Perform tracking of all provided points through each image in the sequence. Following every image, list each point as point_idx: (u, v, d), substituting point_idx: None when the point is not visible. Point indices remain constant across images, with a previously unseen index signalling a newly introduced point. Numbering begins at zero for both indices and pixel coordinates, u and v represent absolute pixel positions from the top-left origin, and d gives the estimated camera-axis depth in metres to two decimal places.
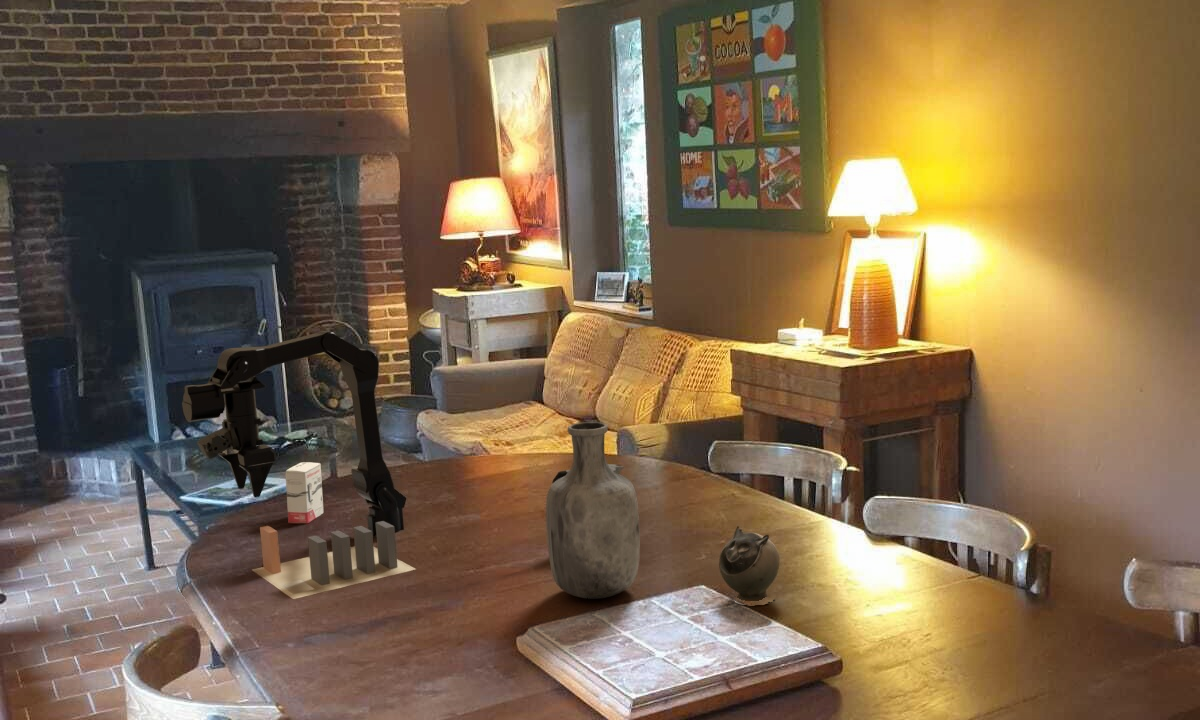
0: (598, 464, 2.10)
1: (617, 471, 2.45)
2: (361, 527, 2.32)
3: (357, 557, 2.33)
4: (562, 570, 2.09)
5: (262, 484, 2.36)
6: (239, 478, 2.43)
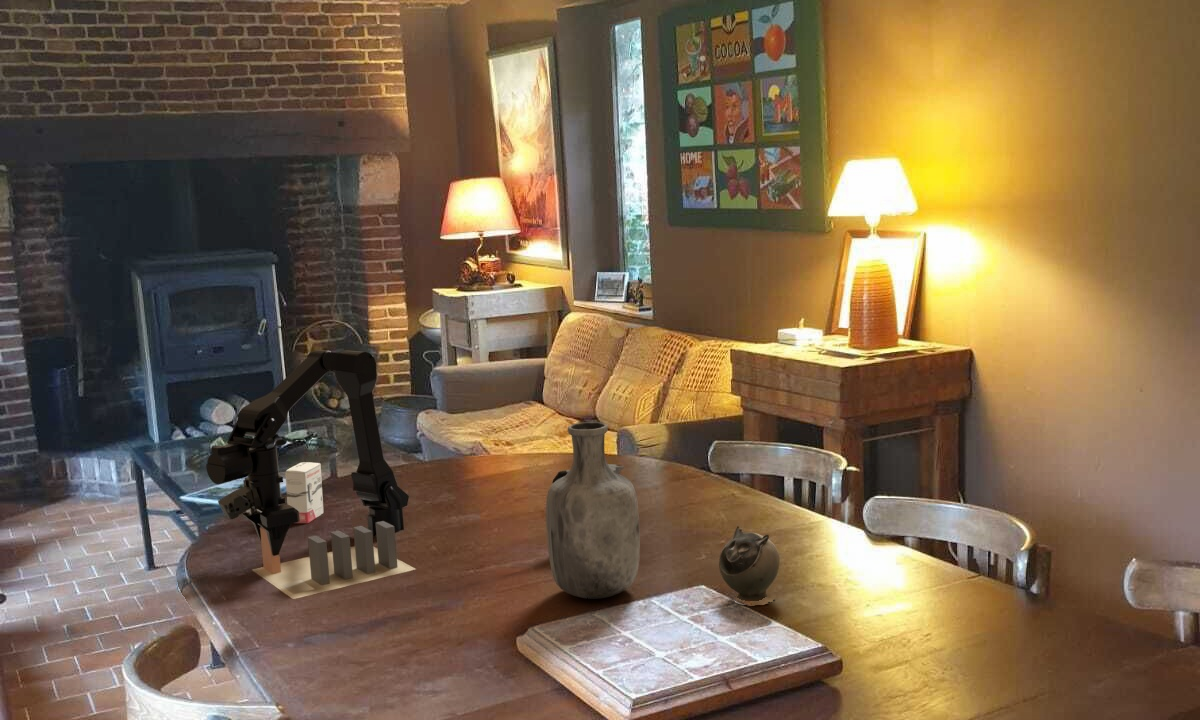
0: (598, 464, 2.10)
1: (617, 471, 2.45)
2: (361, 527, 2.32)
3: (357, 557, 2.33)
4: (562, 570, 2.09)
5: (281, 542, 2.32)
6: None
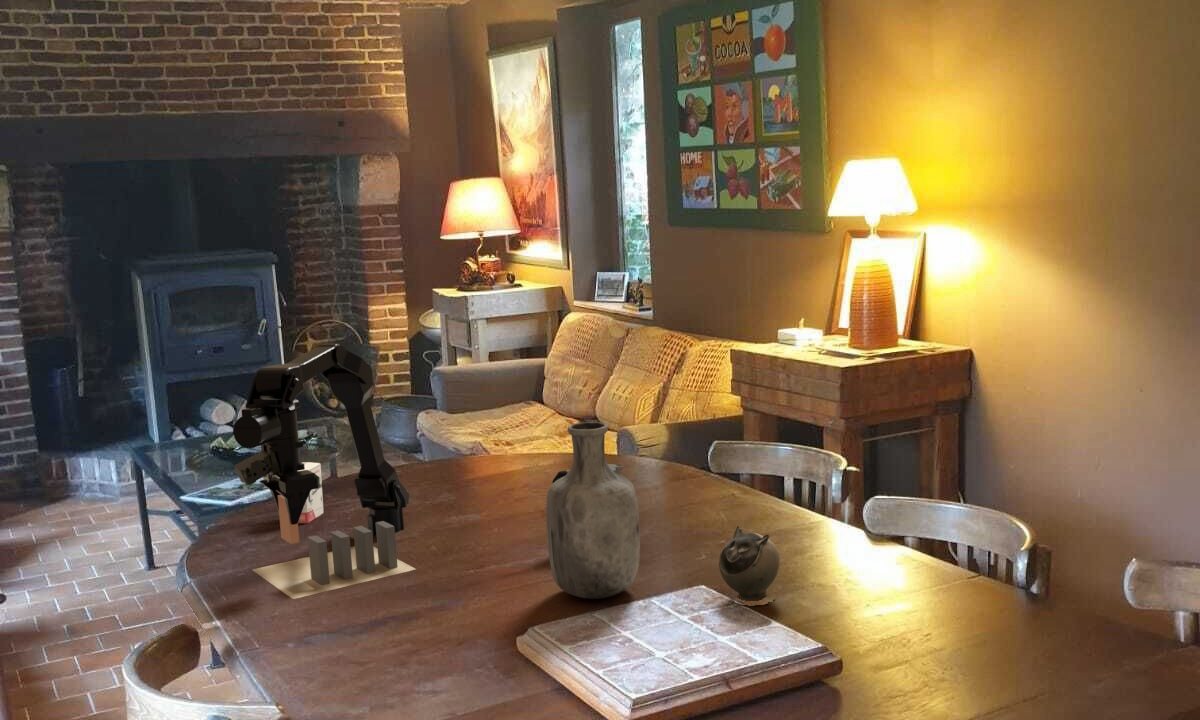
0: (598, 464, 2.10)
1: (617, 471, 2.45)
2: (361, 527, 2.32)
3: (357, 557, 2.33)
4: (562, 570, 2.09)
5: (300, 510, 2.21)
6: None
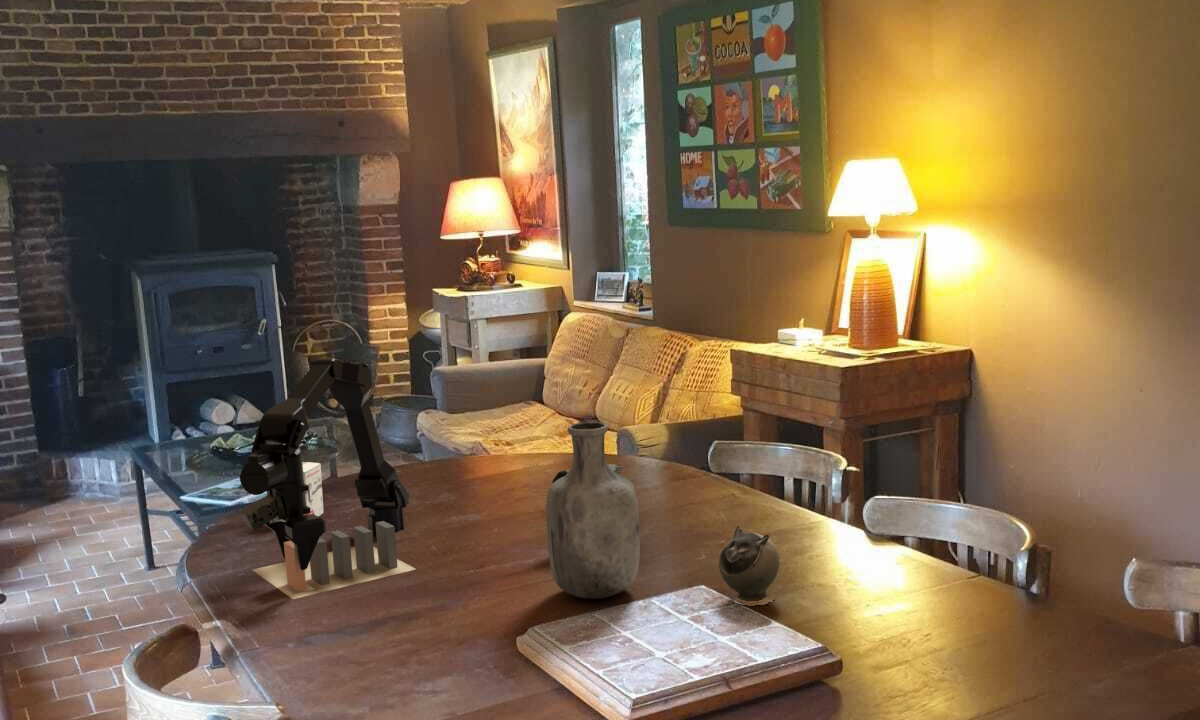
0: (598, 464, 2.10)
1: (617, 471, 2.45)
2: (361, 527, 2.32)
3: (357, 557, 2.33)
4: (562, 570, 2.09)
5: (309, 556, 2.20)
6: None
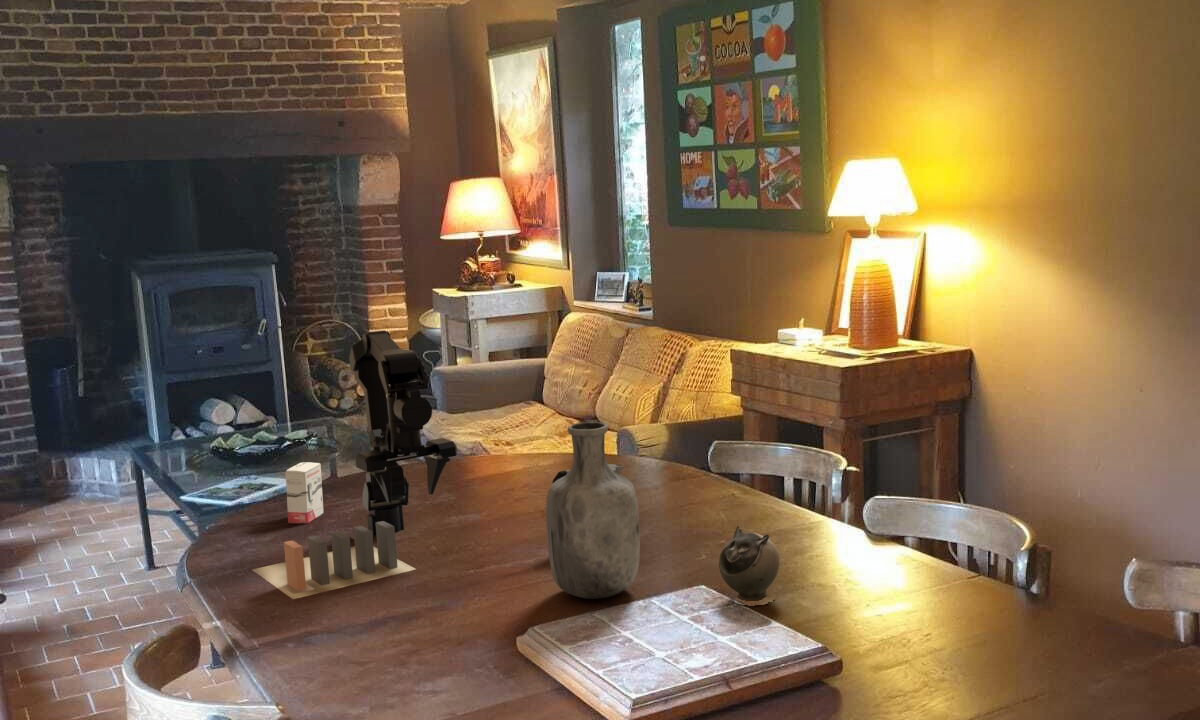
0: (598, 464, 2.10)
1: (617, 471, 2.45)
2: (361, 527, 2.32)
3: (357, 557, 2.33)
4: (562, 570, 2.09)
5: (386, 492, 2.32)
6: (429, 483, 2.38)
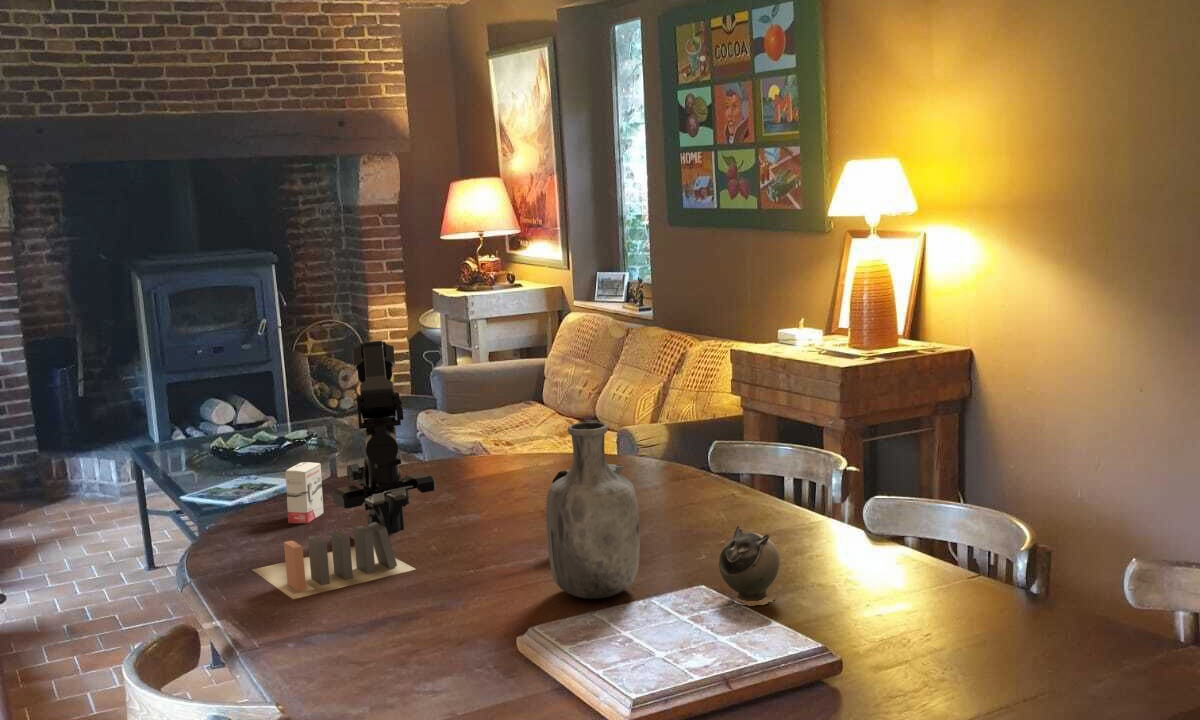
0: (598, 464, 2.10)
1: (617, 471, 2.45)
2: (361, 527, 2.32)
3: (357, 557, 2.33)
4: (562, 570, 2.09)
5: (384, 523, 2.32)
6: None
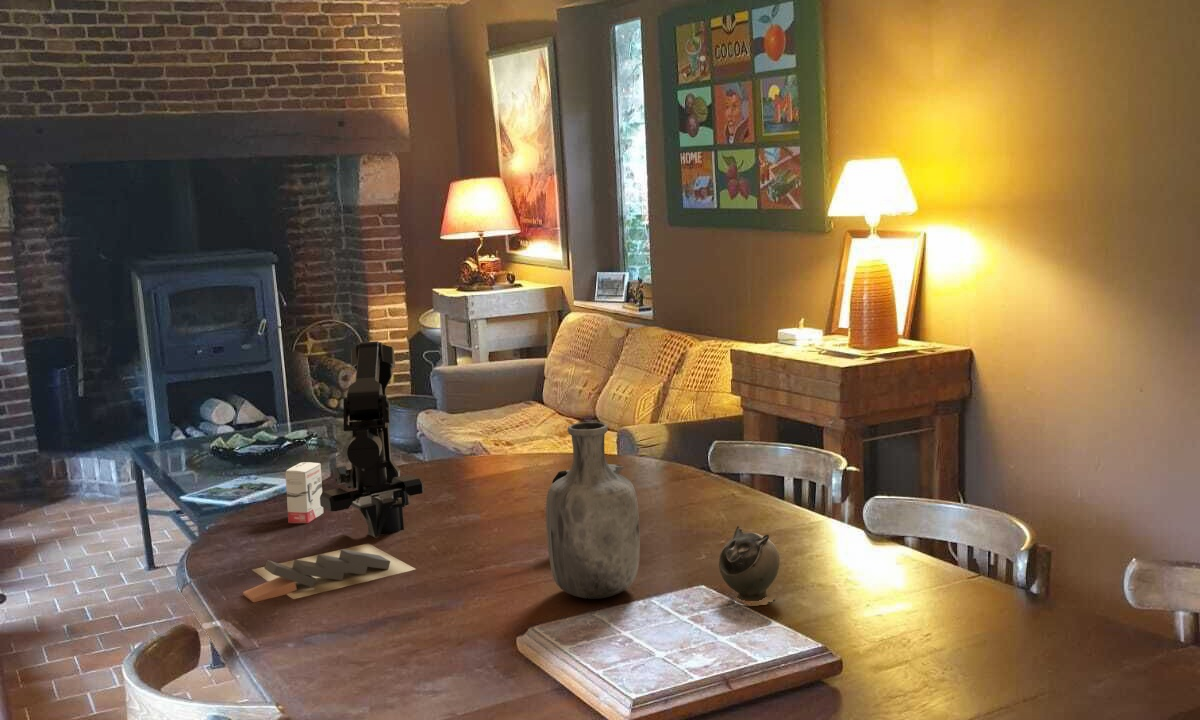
0: (598, 464, 2.10)
1: (617, 471, 2.45)
2: (319, 558, 2.28)
3: None
4: (562, 570, 2.09)
5: (371, 526, 2.31)
6: None
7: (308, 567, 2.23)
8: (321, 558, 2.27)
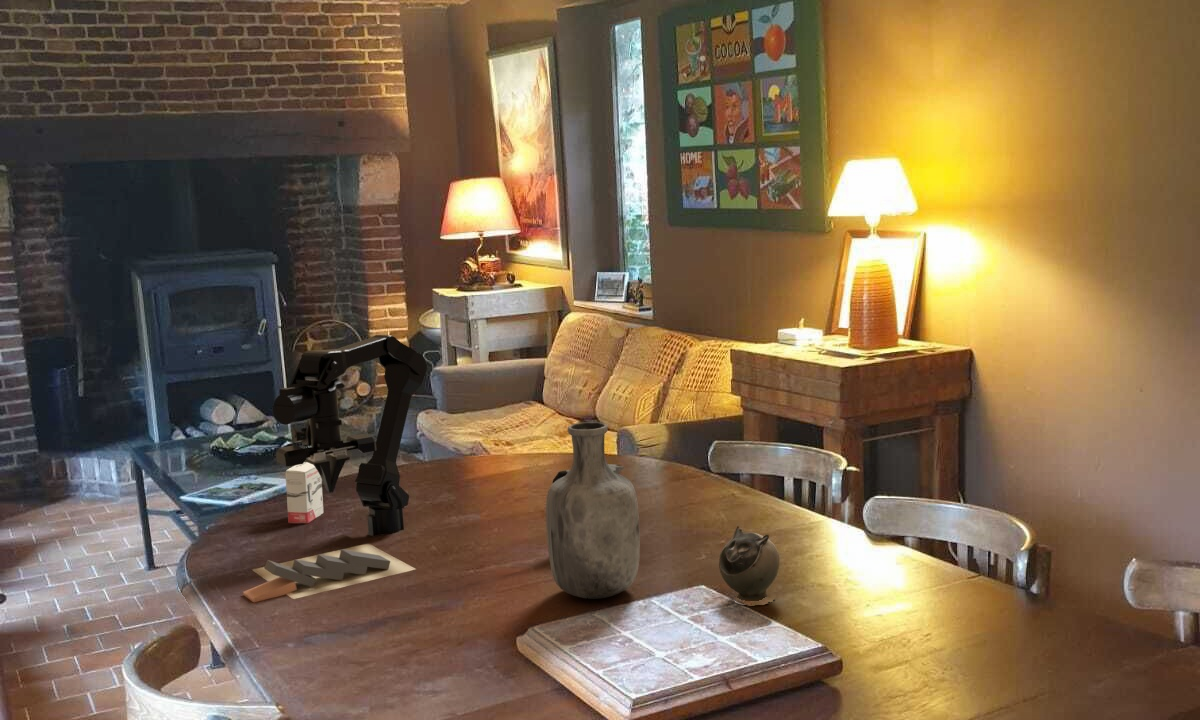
0: (598, 464, 2.10)
1: (617, 471, 2.45)
2: (319, 558, 2.28)
3: None
4: (562, 570, 2.09)
5: (326, 482, 2.42)
6: None
7: (308, 567, 2.23)
8: (321, 558, 2.27)
